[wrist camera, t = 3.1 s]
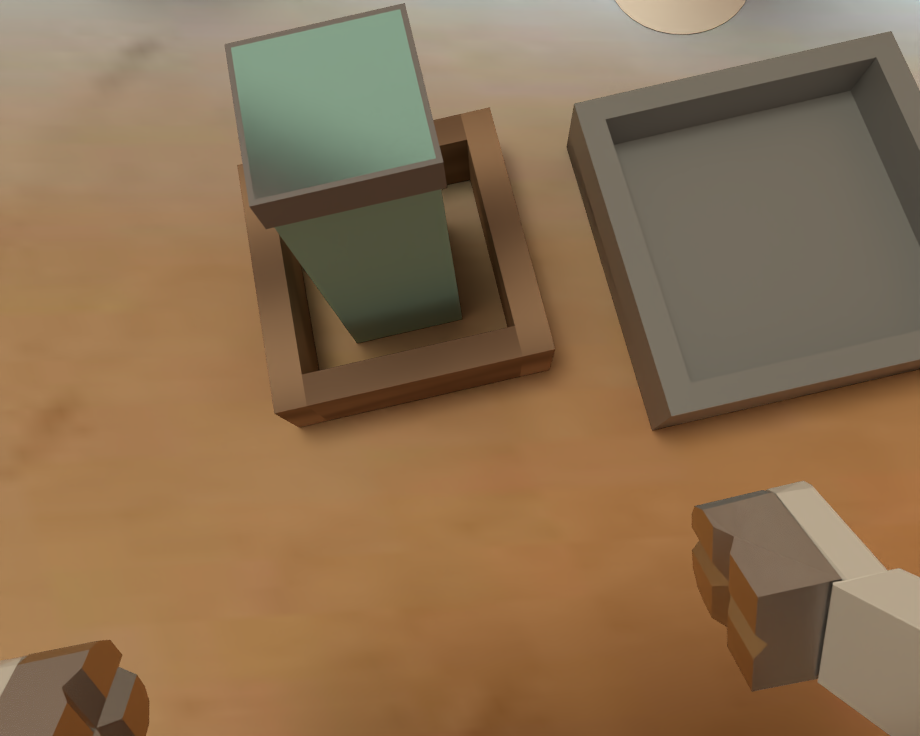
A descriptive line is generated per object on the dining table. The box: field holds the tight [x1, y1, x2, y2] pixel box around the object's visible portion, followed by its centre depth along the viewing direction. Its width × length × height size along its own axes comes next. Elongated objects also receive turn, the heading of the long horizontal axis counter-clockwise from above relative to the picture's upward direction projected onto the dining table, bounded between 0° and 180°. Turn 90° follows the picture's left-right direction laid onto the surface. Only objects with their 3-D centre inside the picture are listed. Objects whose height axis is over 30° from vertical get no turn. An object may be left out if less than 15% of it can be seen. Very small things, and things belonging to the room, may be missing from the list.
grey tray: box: [567, 31, 920, 430], centre depth 26 cm, size 13×13×3 cm
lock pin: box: [225, 3, 462, 343], centre depth 22 cm, size 5×5×12 cm
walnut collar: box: [237, 107, 555, 427], centre depth 27 cm, size 10×10×3 cm
